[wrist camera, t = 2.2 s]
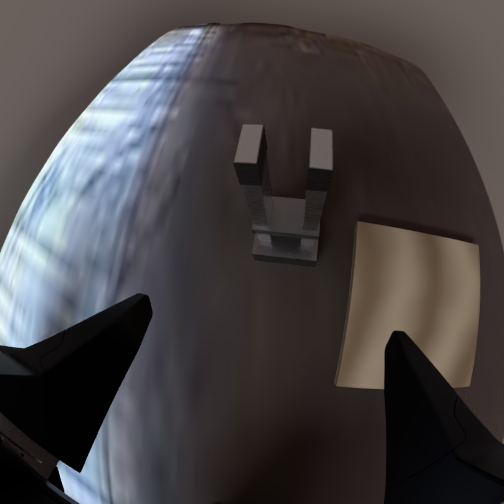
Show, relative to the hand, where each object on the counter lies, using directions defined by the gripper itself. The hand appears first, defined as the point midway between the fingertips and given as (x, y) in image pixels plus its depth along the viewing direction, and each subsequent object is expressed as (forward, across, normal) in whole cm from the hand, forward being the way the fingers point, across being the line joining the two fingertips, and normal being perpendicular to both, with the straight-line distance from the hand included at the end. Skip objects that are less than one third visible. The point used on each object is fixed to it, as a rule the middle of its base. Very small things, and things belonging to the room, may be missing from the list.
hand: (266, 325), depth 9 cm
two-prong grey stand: (+15, 0, +4) cm, 16 cm away
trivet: (+12, -13, +8) cm, 19 cm away
